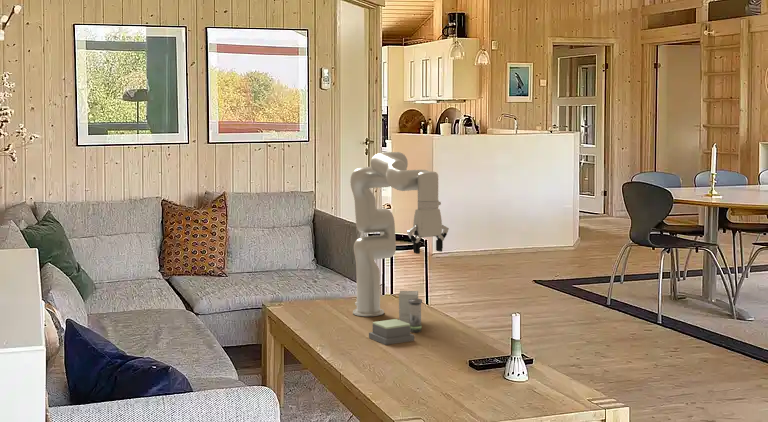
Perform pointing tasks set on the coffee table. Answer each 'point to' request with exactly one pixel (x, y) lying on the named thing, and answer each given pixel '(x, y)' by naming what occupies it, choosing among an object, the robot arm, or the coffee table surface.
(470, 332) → the coffee table surface
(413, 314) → the clear jar with lid
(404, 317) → the supplement box
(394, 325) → the pedestal
